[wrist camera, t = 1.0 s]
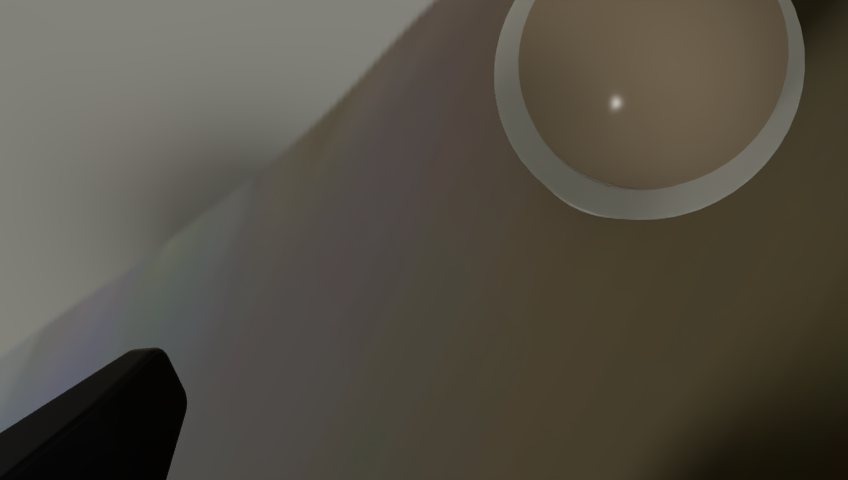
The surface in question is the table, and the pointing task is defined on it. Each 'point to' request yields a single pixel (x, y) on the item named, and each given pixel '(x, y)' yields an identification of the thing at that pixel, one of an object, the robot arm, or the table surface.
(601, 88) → the spice jar
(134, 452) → the robot arm
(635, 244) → the table surface
